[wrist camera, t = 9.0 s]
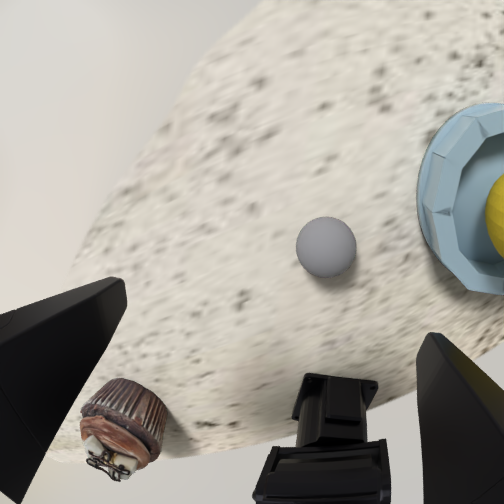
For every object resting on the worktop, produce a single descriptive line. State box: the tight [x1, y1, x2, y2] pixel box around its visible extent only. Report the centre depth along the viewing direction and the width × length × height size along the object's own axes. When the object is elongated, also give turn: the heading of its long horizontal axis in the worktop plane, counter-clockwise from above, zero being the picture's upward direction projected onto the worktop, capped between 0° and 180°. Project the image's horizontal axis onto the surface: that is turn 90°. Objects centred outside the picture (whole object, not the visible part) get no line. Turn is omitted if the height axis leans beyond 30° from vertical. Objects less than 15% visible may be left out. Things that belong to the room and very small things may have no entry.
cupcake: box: [80, 378, 167, 482], centre depth 28 cm, size 10×10×10 cm
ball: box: [296, 217, 356, 278], centre depth 18 cm, size 4×4×4 cm
